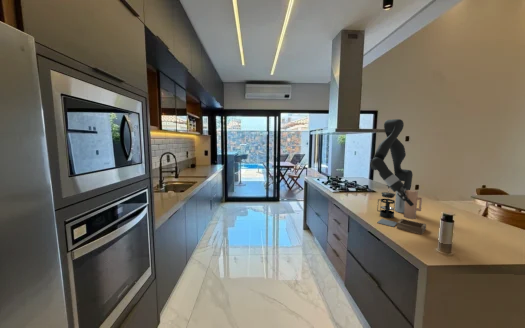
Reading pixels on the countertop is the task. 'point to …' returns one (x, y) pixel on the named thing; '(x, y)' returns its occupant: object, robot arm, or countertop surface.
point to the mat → (387, 222)
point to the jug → (411, 210)
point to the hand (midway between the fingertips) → (413, 204)
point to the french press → (387, 205)
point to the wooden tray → (411, 226)
